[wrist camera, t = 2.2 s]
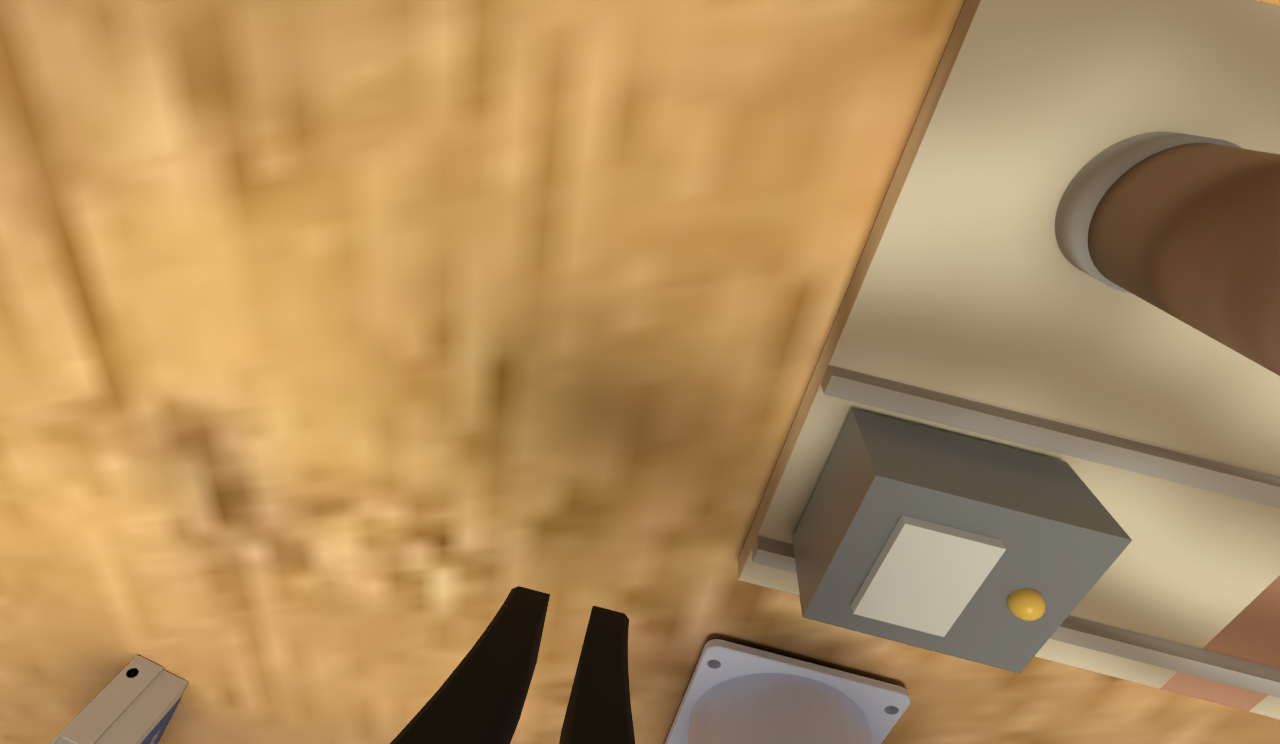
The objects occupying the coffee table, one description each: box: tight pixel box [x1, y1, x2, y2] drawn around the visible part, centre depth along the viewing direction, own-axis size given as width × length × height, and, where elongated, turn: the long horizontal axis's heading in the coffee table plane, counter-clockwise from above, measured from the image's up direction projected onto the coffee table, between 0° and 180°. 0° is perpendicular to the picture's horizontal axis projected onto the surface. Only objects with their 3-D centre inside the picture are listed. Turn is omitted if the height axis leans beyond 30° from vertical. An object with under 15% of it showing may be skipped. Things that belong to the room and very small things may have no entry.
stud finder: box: [792, 408, 1132, 673], centre depth 16 cm, size 5×6×4 cm
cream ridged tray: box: [738, 0, 1280, 719], centre depth 16 cm, size 18×24×2 cm
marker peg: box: [1055, 132, 1280, 376], centre depth 11 cm, size 3×3×6 cm
